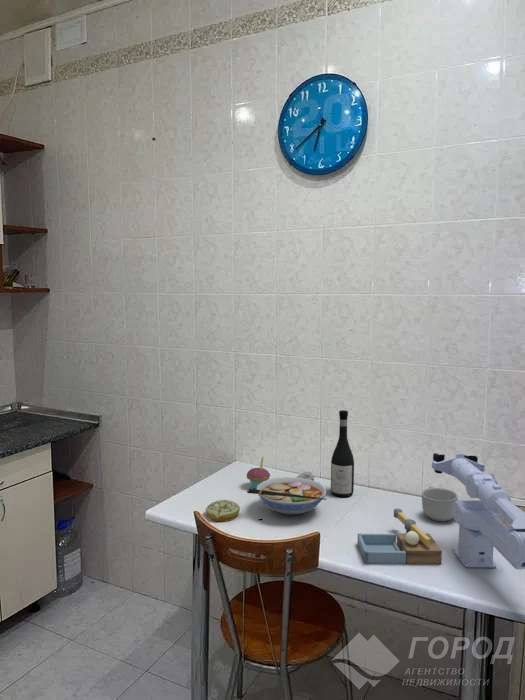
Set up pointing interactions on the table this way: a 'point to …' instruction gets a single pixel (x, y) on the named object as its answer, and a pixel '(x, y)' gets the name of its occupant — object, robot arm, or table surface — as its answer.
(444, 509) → the teacup
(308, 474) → the frog figurine
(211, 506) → the decorated donut
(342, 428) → the wine bottle
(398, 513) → the lever
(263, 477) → the cupcake
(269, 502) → the ramen bowl
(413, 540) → the ball
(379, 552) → the shallow square tray
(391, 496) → the table surface
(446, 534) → the table surface
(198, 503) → the table surface
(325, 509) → the table surface
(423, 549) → the block
